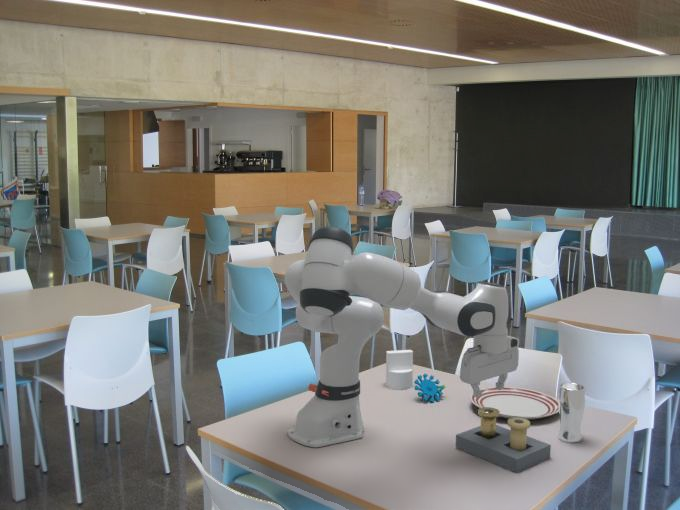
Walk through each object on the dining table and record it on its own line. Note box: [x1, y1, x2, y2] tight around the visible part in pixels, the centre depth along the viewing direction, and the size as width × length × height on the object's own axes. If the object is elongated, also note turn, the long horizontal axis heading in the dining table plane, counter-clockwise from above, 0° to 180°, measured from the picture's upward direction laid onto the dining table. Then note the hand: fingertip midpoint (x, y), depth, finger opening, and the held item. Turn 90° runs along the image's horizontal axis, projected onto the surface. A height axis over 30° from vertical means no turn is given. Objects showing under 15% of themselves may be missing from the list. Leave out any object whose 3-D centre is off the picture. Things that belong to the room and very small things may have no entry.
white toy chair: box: [385, 349, 414, 391], centre depth 241 cm, size 9×9×12 cm
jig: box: [455, 418, 552, 474], centre depth 186 cm, size 20×14×10 cm
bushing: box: [477, 407, 499, 439], centre depth 190 cm, size 6×6×10 cm
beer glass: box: [557, 382, 586, 444], centre depth 195 cm, size 7×7×15 cm
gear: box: [413, 373, 446, 403], centre depth 229 cm, size 11×6×10 cm
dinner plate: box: [469, 386, 559, 421], centre depth 219 cm, size 28×27×3 cm
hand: (488, 392), depth 189 cm, fingers open, 8 cm apart
